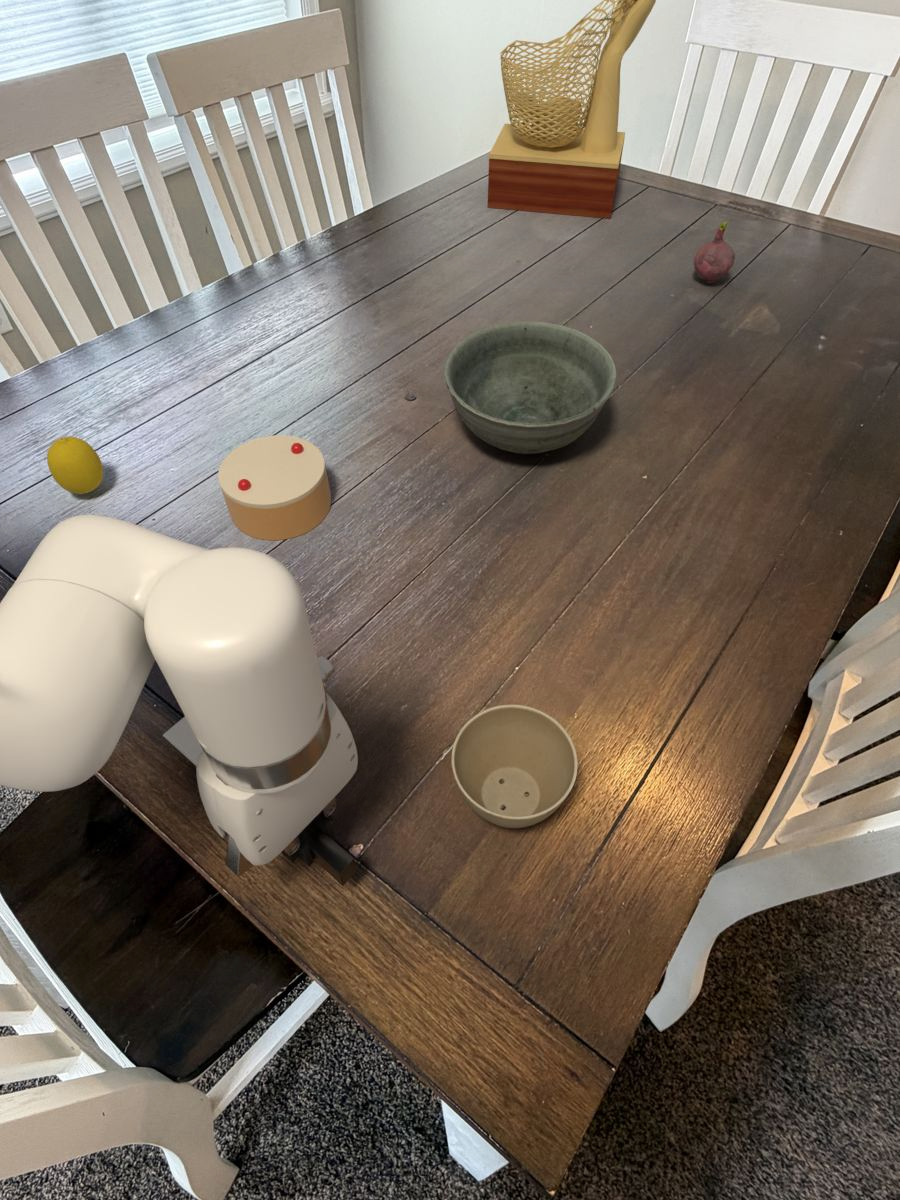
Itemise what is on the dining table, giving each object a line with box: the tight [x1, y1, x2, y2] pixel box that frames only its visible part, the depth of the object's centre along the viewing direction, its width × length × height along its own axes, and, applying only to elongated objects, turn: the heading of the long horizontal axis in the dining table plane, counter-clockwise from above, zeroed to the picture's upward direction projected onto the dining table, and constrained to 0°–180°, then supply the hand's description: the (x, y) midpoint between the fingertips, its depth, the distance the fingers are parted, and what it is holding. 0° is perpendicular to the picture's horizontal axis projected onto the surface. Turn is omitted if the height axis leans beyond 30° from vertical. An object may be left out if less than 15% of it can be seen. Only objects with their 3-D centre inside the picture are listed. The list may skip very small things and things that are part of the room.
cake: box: [217, 434, 332, 541], centre depth 85 cm, size 12×12×6 cm
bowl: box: [443, 320, 617, 455], centre depth 91 cm, size 21×21×10 cm
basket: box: [487, 0, 657, 219], centre depth 128 cm, size 25×18×35 cm
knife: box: [162, 716, 358, 887], centre depth 59 cm, size 3×21×3 cm, turn 51°
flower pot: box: [451, 704, 579, 829], centre depth 61 cm, size 10×10×7 cm
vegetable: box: [693, 221, 736, 284], centre depth 116 cm, size 6×6×10 cm
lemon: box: [46, 436, 104, 495], centre depth 86 cm, size 6×6×8 cm
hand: (308, 840), depth 57 cm, fingers closed on knife
